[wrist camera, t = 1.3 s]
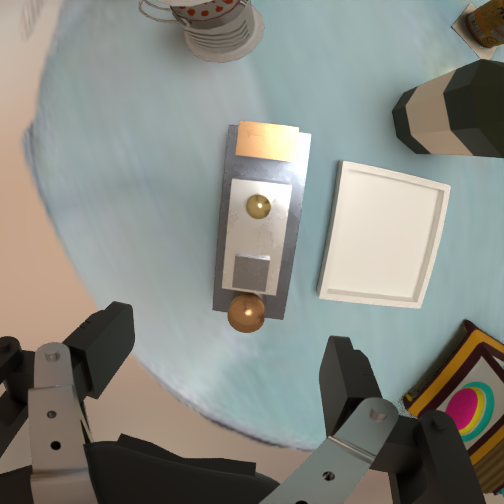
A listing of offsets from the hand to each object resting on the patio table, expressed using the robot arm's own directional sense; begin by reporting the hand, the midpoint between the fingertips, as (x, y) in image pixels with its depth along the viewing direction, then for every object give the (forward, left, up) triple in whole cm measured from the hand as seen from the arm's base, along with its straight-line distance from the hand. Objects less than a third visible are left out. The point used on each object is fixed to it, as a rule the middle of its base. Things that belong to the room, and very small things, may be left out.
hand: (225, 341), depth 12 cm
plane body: (0, 0, -25) cm, 25 cm away
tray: (0, +15, -25) cm, 29 cm away
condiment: (-33, +28, -25) cm, 50 cm away
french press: (-23, -8, -25) cm, 35 cm away
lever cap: (0, 0, -20) cm, 20 cm away
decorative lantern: (+21, +38, -25) cm, 50 cm away
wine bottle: (-15, +18, -25) cm, 34 cm away
